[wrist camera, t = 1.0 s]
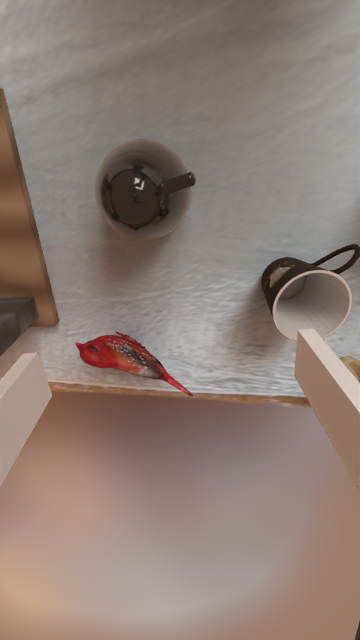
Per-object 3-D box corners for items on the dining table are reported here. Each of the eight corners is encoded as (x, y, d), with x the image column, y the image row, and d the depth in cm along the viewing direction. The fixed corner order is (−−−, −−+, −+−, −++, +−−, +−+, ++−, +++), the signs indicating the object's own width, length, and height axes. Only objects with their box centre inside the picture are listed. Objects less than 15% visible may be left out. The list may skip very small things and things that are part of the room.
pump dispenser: (201, 218, 40) (212, 242, 26) (125, 242, 41) (97, 276, 27) (177, 129, 36) (176, 101, 22) (93, 159, 37) (43, 150, 23)
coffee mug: (264, 317, 46) (285, 352, 37) (244, 264, 43) (262, 289, 33) (343, 285, 44) (386, 315, 35) (329, 228, 40) (373, 244, 31)
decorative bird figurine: (95, 309, 45) (74, 342, 36) (196, 365, 49) (200, 408, 40) (86, 324, 46) (64, 360, 37) (186, 377, 50) (188, 422, 41)
